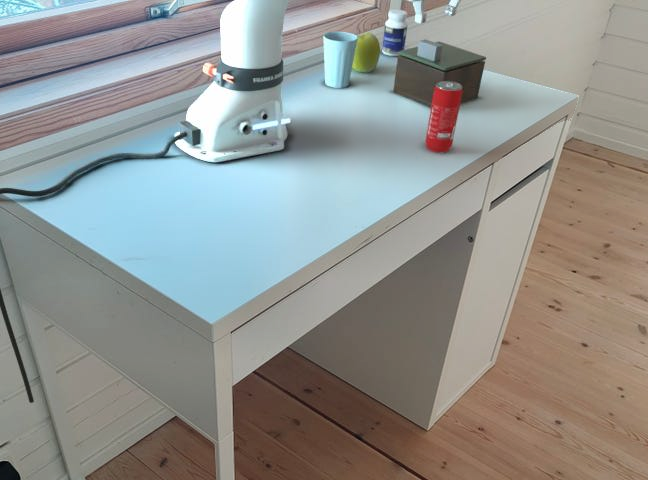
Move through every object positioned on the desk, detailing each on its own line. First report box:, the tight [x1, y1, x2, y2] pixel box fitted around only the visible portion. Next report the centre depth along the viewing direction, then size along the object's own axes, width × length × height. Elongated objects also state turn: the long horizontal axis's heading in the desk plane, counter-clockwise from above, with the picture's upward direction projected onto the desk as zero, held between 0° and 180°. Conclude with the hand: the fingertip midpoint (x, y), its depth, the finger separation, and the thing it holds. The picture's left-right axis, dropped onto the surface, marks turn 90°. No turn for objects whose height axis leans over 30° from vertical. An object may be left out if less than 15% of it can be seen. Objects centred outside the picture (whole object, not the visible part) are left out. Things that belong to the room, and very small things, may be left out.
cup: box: [323, 31, 358, 89], centre depth 155 cm, size 8×8×10 cm
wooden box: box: [392, 55, 486, 108], centre depth 153 cm, size 14×14×8 cm
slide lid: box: [398, 38, 487, 71], centre depth 149 cm, size 14×14×4 cm
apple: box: [352, 28, 381, 74], centre depth 164 cm, size 8×8×10 cm
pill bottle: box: [381, 9, 408, 57], centre depth 175 cm, size 6×6×10 cm
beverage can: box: [425, 81, 462, 154], centre depth 129 cm, size 5×5×12 cm
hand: (435, 18), depth 143 cm, fingers open, 8 cm apart
